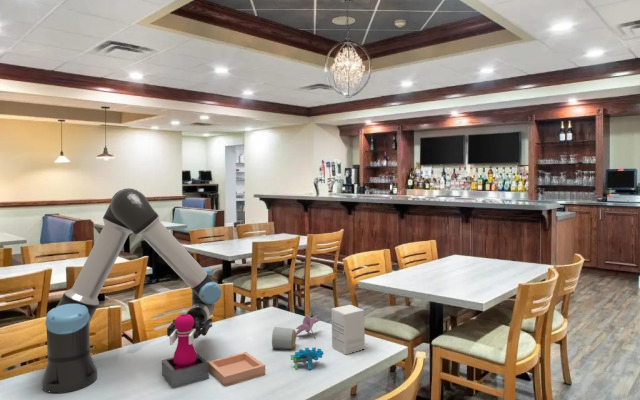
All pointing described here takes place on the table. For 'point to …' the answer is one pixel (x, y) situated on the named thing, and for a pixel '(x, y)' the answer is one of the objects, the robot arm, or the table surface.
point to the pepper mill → (184, 341)
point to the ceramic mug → (283, 338)
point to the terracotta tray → (236, 368)
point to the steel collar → (185, 372)
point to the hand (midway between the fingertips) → (180, 340)
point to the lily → (307, 324)
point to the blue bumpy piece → (306, 356)
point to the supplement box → (348, 329)
